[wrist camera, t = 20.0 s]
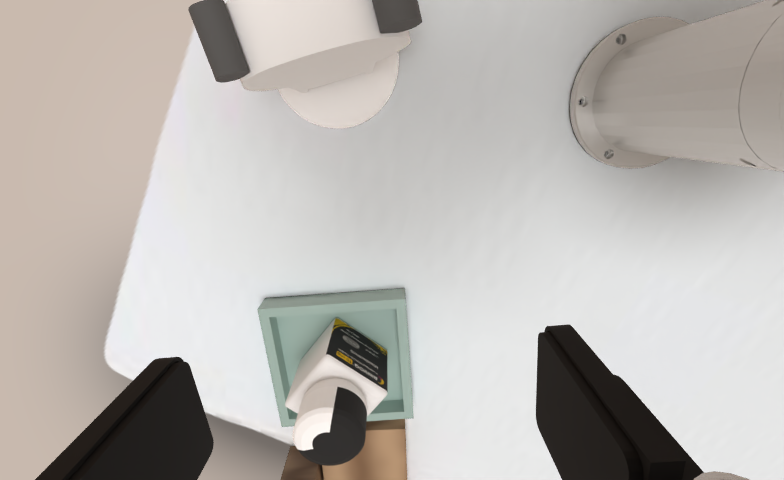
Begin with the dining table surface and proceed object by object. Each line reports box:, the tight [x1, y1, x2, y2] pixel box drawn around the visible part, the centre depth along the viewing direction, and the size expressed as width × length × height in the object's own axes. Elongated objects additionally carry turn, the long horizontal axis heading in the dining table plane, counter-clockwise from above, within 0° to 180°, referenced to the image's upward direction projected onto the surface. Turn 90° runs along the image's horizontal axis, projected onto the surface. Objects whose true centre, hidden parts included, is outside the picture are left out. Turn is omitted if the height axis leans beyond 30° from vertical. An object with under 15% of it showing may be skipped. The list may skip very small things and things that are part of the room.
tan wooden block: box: [322, 419, 407, 480], centre depth 46 cm, size 10×12×3 cm
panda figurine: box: [189, 0, 422, 129], centre depth 26 cm, size 12×11×15 cm
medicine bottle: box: [285, 318, 388, 466], centre depth 36 cm, size 7×7×12 cm
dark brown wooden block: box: [281, 446, 324, 480], centre depth 44 cm, size 4×4×6 cm
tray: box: [257, 288, 414, 427], centre depth 41 cm, size 15×15×2 cm
